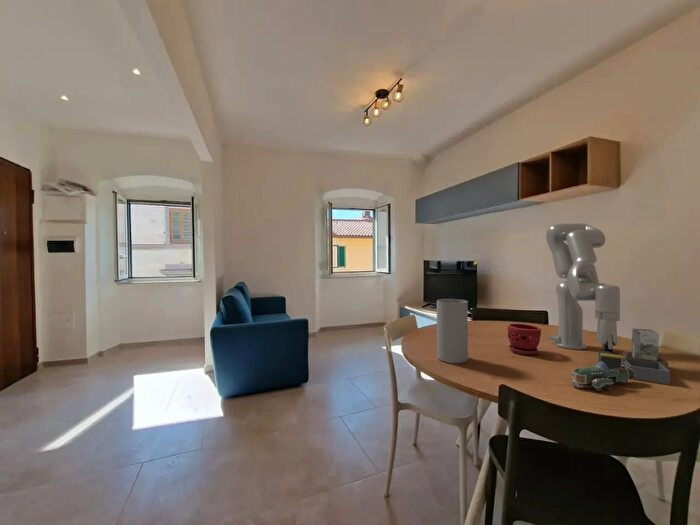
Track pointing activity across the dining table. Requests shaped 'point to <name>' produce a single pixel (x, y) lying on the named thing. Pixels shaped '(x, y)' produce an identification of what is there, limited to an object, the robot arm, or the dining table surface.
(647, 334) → the syrup box
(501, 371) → the dining table surface
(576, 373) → the green toy hover car
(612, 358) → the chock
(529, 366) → the dining table surface
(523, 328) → the plant pot
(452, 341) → the cylinder vase
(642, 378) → the tray
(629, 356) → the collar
